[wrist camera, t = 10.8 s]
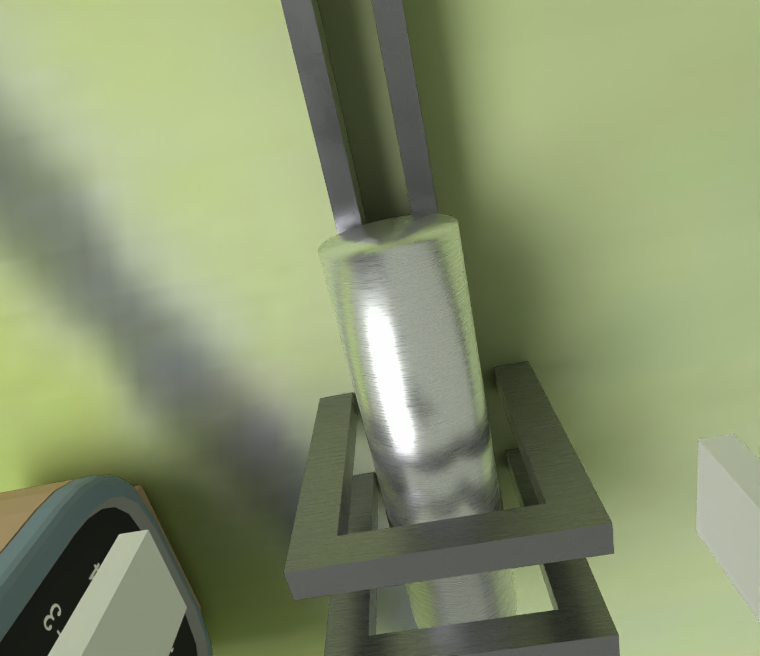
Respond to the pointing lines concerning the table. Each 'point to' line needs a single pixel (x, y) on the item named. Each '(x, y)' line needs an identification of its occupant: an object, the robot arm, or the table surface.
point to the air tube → (420, 391)
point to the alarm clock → (74, 559)
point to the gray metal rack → (360, 493)
